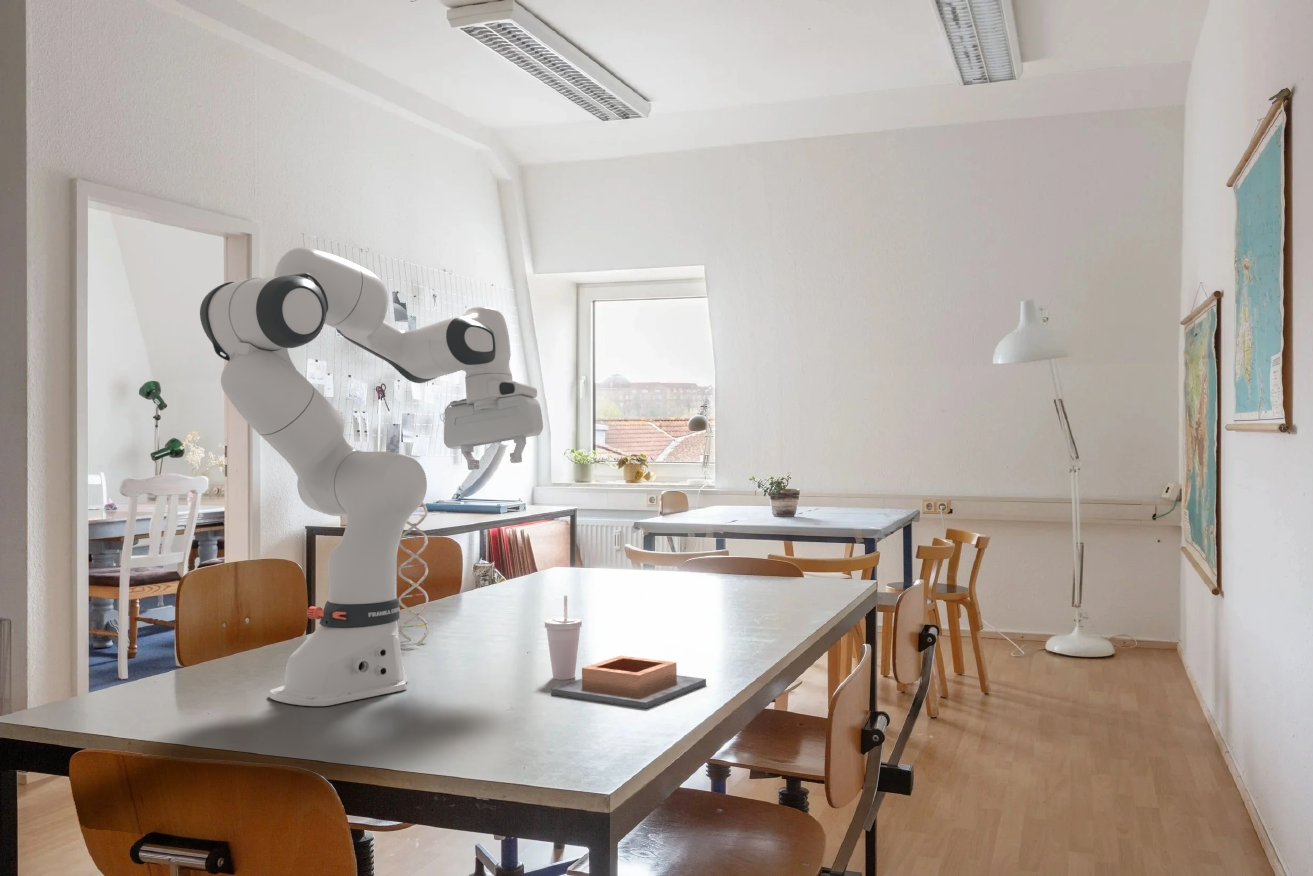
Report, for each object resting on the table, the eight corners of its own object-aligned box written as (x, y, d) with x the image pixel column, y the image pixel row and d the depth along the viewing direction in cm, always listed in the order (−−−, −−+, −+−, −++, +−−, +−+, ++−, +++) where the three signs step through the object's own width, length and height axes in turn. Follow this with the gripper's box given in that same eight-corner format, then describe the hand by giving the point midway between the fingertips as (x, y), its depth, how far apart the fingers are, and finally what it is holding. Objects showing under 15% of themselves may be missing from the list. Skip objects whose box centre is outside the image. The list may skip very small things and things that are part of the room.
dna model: (433, 643, 211) (432, 494, 211) (401, 646, 208) (399, 495, 209) (425, 638, 217) (424, 493, 217) (394, 641, 214) (392, 494, 215)
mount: (645, 709, 157) (645, 682, 157) (551, 694, 167) (551, 669, 167) (706, 685, 172) (705, 660, 173) (616, 673, 182) (615, 650, 182)
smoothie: (567, 683, 175) (566, 599, 175) (537, 679, 179) (536, 596, 179) (590, 675, 181) (589, 594, 181) (560, 671, 184) (559, 591, 184)
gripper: (434, 400, 200) (438, 472, 197) (526, 382, 191) (532, 457, 189) (454, 404, 205) (458, 474, 203) (544, 387, 197) (549, 460, 195)
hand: (494, 466), depth 196 cm, fingers open, 8 cm apart
